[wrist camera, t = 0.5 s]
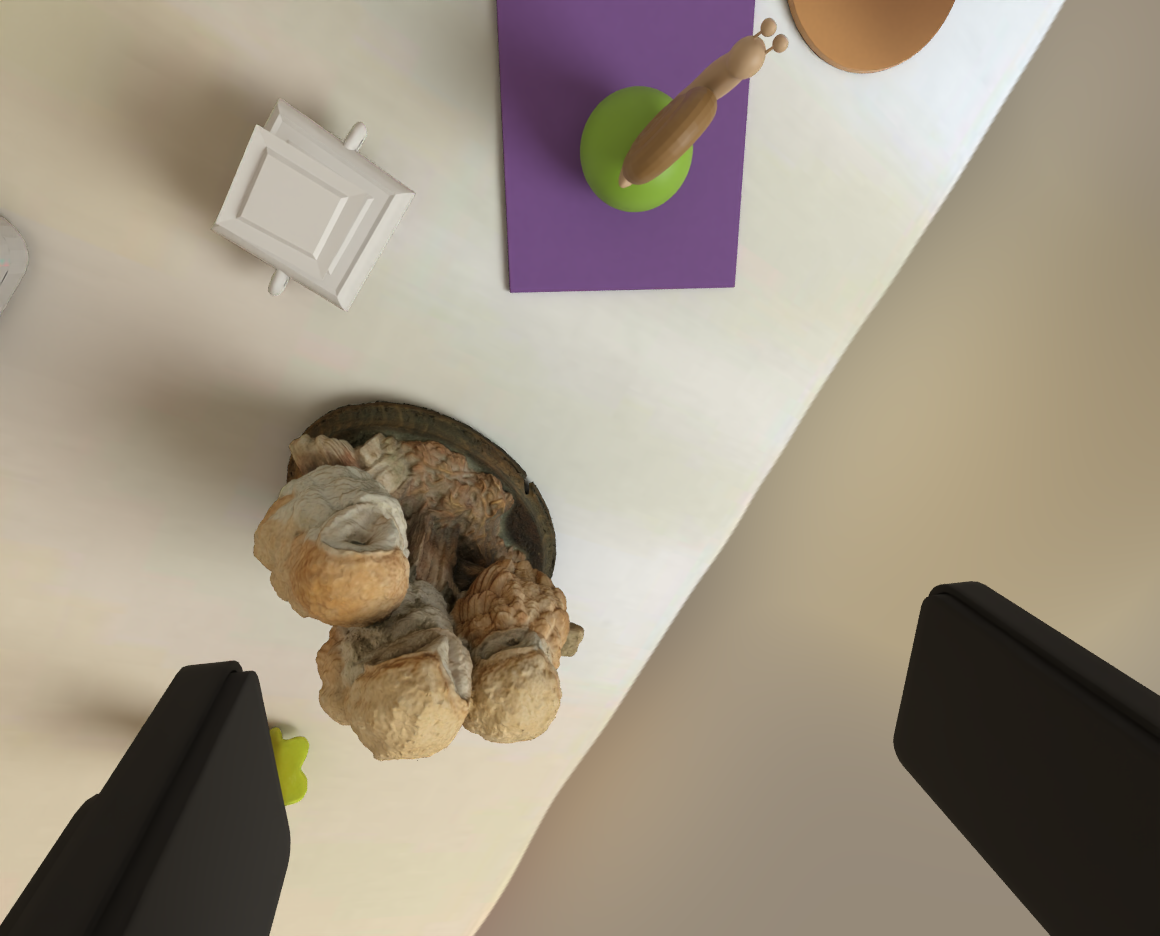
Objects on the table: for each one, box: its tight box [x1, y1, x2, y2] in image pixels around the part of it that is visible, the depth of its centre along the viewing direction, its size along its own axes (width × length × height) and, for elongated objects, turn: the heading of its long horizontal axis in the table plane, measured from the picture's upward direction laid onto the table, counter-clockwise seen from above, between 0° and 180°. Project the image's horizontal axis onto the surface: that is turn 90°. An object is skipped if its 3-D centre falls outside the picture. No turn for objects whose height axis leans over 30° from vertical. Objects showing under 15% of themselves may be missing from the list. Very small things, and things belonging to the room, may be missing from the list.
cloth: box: [496, 0, 755, 293], centre depth 32 cm, size 20×13×1 cm, turn 1°
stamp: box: [211, 98, 416, 312], centre depth 27 cm, size 9×7×8 cm
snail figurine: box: [580, 18, 788, 212], centre depth 27 cm, size 5×6×12 cm
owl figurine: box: [253, 401, 584, 761], centre depth 30 cm, size 18×12×17 cm, turn 52°
